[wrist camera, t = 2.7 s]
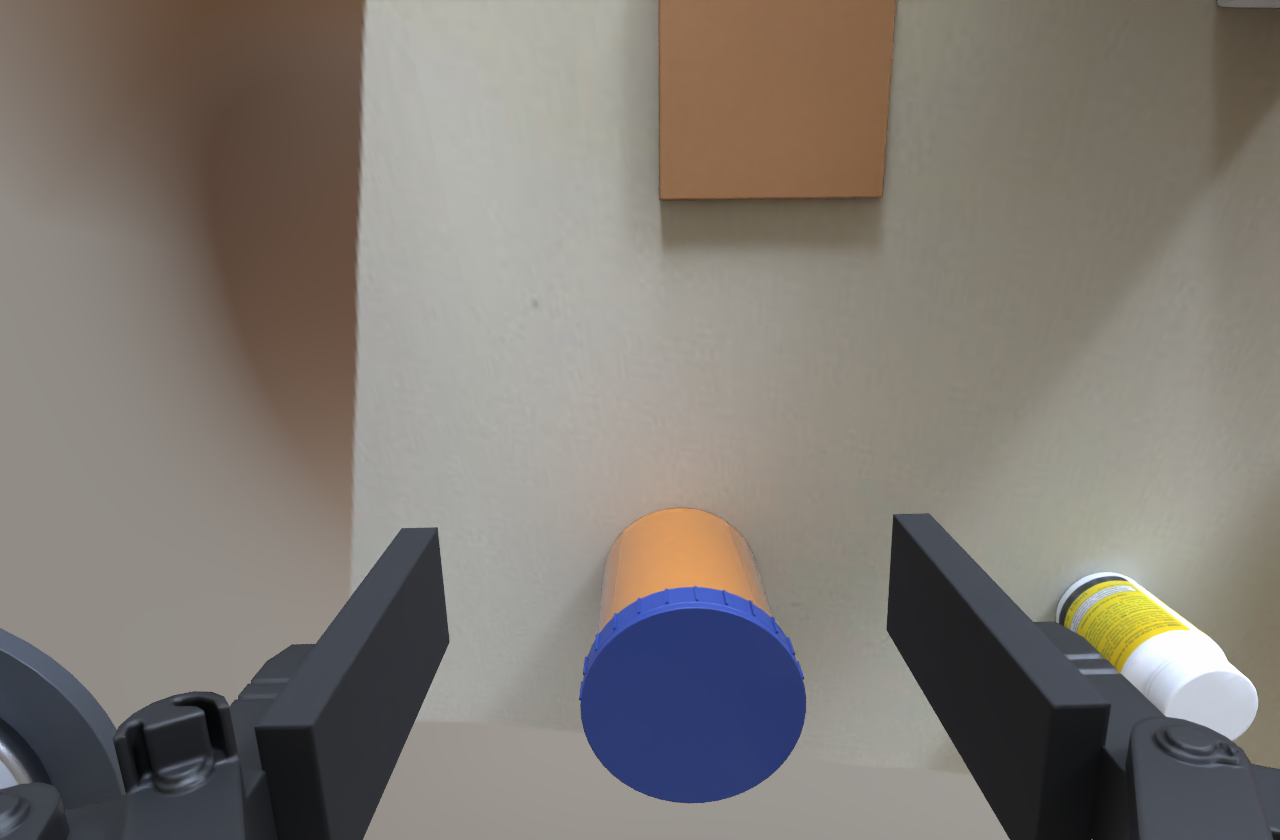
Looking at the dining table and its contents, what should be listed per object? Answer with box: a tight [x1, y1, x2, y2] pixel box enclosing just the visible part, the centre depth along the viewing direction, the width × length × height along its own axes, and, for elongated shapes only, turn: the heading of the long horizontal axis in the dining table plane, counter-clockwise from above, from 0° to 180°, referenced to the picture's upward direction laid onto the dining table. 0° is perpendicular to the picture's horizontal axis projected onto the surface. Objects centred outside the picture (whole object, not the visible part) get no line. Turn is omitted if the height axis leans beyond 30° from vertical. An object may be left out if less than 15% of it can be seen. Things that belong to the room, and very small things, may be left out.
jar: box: [597, 508, 773, 634], centre depth 35 cm, size 8×8×10 cm
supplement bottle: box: [1056, 572, 1258, 741], centre depth 37 cm, size 5×5×8 cm
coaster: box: [659, 0, 896, 200], centre depth 34 cm, size 10×10×1 cm
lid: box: [579, 586, 806, 803], centre depth 31 cm, size 9×9×2 cm
